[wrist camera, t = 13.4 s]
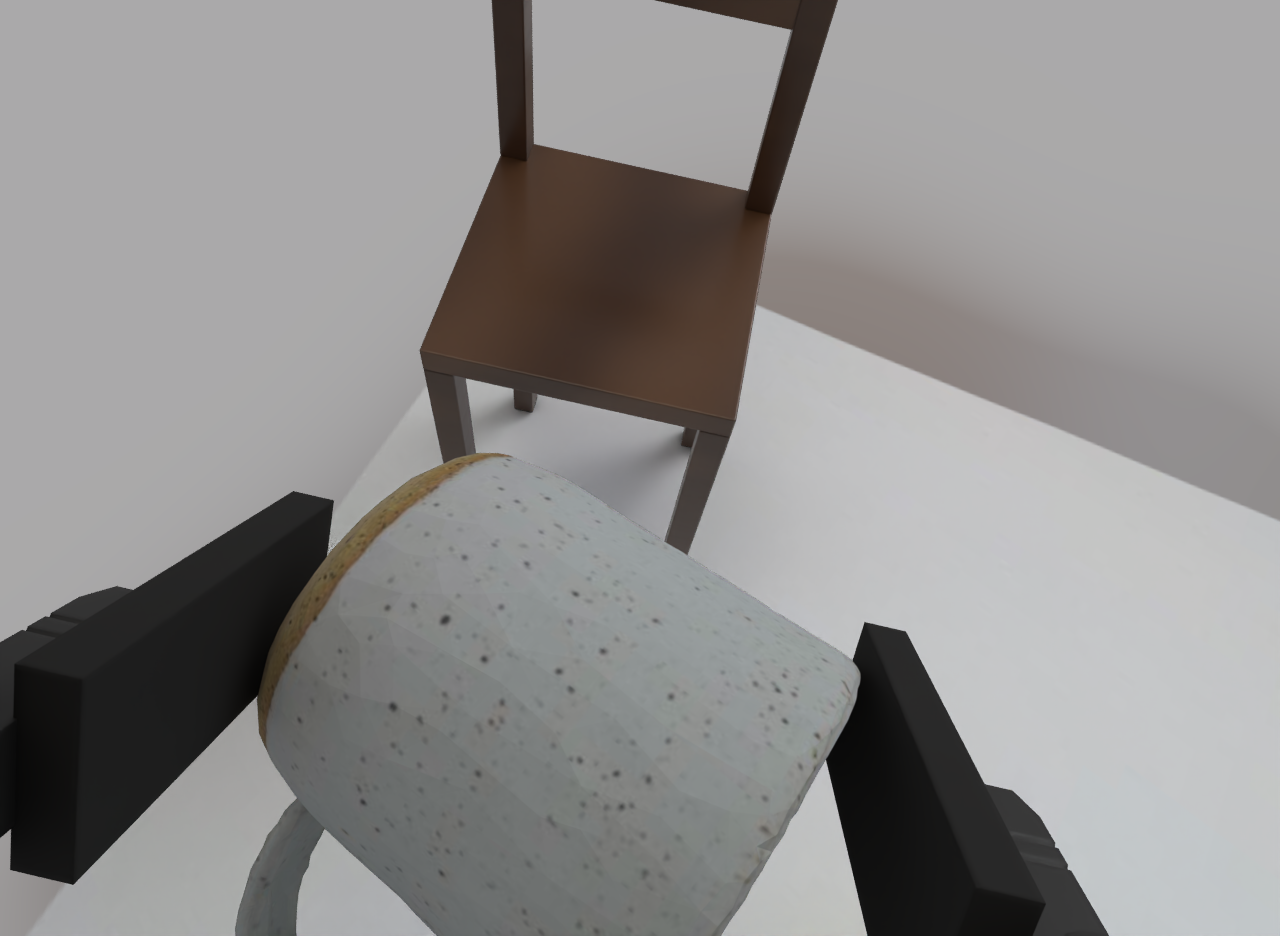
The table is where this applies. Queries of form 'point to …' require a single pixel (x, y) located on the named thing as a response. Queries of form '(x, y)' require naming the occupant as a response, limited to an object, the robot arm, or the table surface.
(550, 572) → the ceramic mug
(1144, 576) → the table surface
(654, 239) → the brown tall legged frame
